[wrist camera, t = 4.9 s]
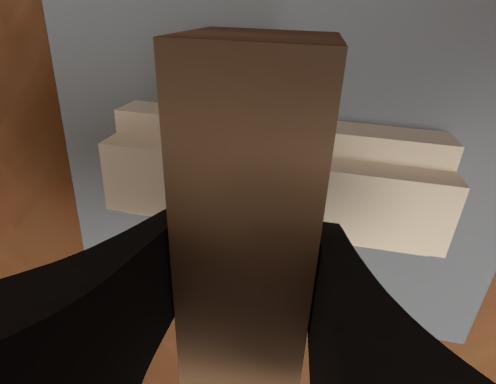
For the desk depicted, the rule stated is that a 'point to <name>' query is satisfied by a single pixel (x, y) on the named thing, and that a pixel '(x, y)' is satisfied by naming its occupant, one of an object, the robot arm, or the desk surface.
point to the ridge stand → (346, 139)
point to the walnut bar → (246, 192)
